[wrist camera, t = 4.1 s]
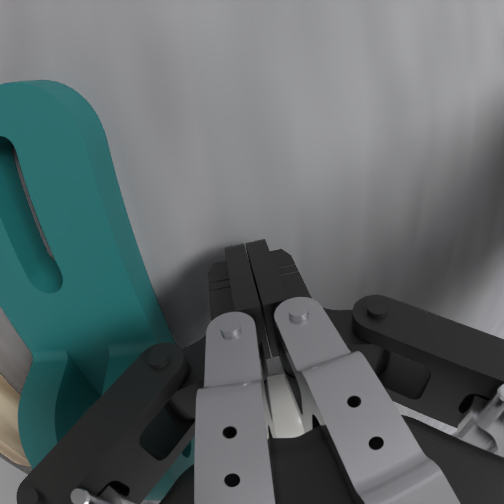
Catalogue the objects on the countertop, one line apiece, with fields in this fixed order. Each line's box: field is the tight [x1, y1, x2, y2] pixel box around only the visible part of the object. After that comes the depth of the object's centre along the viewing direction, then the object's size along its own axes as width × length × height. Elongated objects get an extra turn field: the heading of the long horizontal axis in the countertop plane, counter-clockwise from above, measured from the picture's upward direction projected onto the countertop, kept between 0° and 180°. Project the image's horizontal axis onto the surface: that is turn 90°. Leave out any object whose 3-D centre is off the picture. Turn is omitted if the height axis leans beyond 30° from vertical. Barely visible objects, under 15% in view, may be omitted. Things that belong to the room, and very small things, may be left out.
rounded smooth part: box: [267, 374, 305, 438], centre depth 17 cm, size 6×6×4 cm
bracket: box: [0, 80, 195, 500], centre depth 9 cm, size 18×7×8 cm, turn 8°
